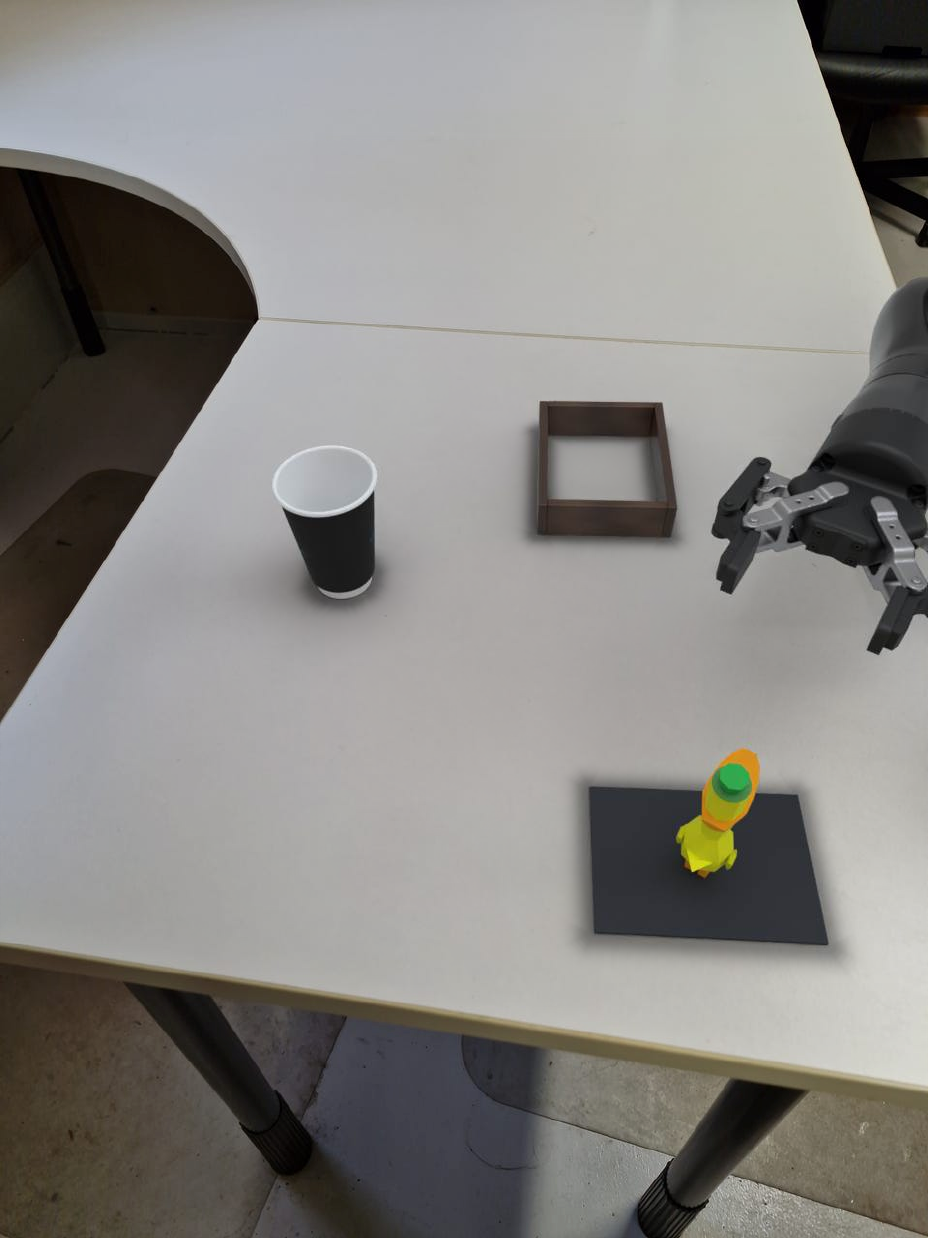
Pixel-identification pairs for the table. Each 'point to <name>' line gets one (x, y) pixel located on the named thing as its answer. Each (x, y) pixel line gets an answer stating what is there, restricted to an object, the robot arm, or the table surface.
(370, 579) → the dixie cup
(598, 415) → the tray box
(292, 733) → the table surface
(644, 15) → the table surface
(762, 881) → the rubber pad
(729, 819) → the toy figure
